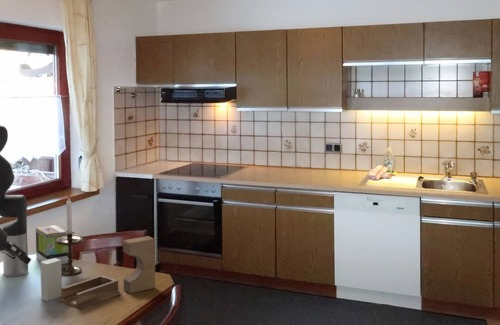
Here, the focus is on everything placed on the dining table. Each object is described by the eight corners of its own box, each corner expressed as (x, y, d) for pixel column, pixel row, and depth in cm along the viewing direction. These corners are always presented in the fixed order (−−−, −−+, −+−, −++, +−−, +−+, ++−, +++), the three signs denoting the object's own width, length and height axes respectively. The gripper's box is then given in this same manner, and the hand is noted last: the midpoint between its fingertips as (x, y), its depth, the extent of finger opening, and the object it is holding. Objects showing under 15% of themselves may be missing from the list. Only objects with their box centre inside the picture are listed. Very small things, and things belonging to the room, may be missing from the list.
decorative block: (129, 294, 202) (128, 243, 199) (123, 289, 206) (122, 239, 203) (155, 288, 208) (155, 239, 206) (149, 284, 213) (148, 235, 210)
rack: (59, 300, 194) (59, 287, 194) (99, 286, 209) (99, 274, 208) (80, 308, 187) (80, 295, 187) (120, 293, 202) (120, 281, 201)
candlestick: (88, 268, 229) (86, 189, 225) (77, 277, 219) (75, 193, 214) (64, 267, 231) (62, 188, 226) (52, 275, 220) (49, 192, 215)
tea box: (69, 263, 236) (68, 230, 234) (46, 267, 230) (45, 234, 228) (57, 254, 248) (57, 223, 246) (35, 258, 242) (34, 226, 240)
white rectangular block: (41, 298, 196) (40, 261, 194) (55, 293, 201) (54, 257, 199) (47, 301, 194) (46, 264, 192) (62, 296, 199) (61, 260, 197)
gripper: (7, 228, 173) (40, 254, 184) (-15, 221, 181) (17, 246, 192) (-8, 248, 169) (26, 273, 180) (-30, 240, 178) (4, 264, 188)
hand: (22, 259), depth 186 cm, fingers open, 8 cm apart
